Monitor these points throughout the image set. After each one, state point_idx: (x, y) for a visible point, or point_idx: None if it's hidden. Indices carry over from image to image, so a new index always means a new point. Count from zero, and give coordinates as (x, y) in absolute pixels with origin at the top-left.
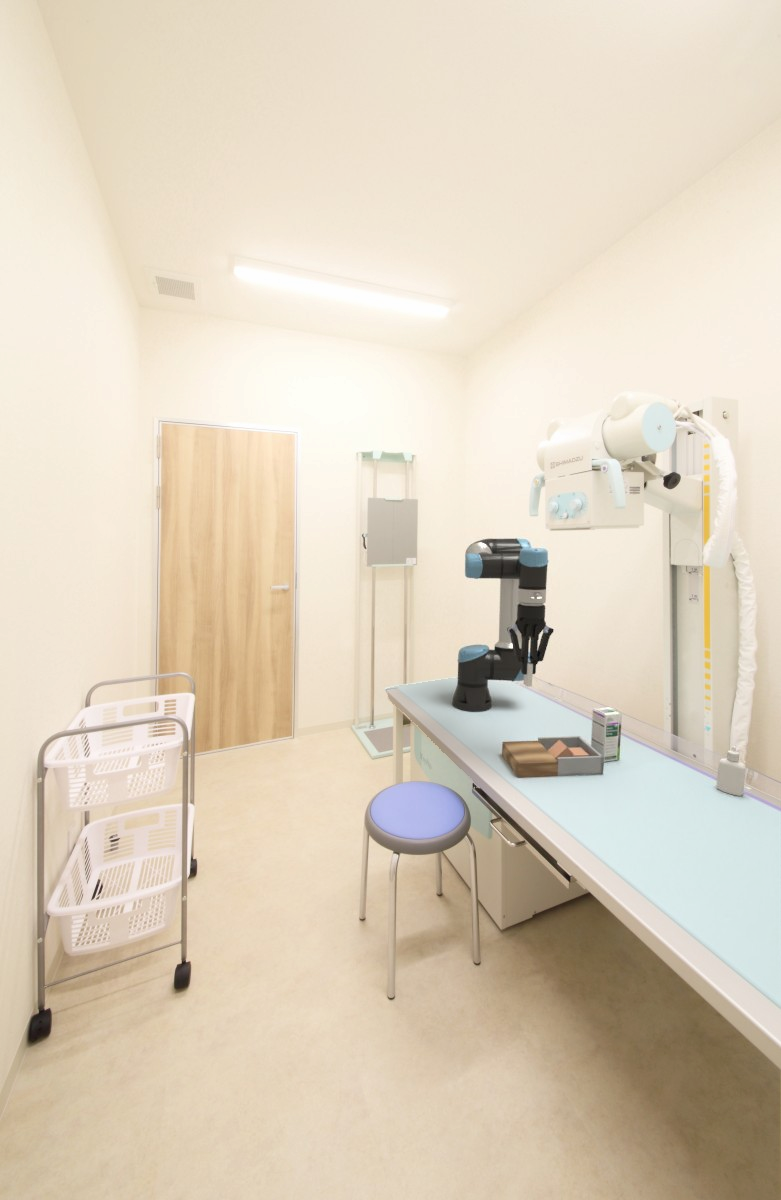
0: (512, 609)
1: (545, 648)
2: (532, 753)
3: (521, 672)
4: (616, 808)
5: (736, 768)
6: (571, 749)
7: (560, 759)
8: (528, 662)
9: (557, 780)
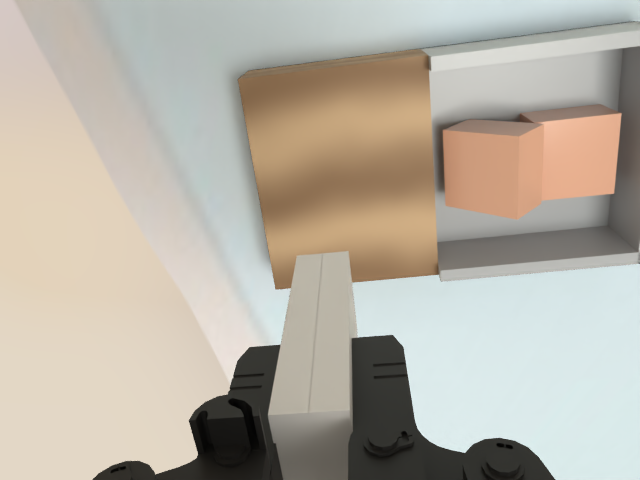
0: None
1: None
2: (354, 202)
3: (246, 355)
4: (528, 416)
5: None
6: (561, 139)
7: (449, 279)
8: (320, 450)
9: (417, 277)
